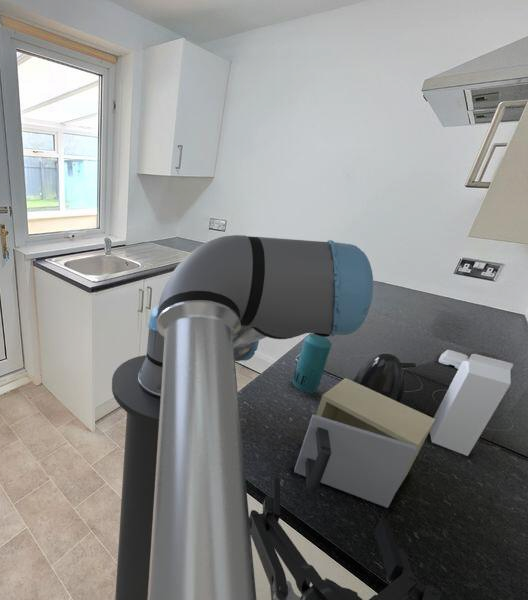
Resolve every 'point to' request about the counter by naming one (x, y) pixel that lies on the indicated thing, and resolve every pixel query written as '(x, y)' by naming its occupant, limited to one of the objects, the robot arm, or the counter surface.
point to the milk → (470, 402)
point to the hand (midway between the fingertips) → (325, 503)
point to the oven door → (353, 460)
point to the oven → (375, 414)
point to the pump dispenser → (384, 375)
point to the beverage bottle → (311, 362)
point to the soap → (452, 358)
